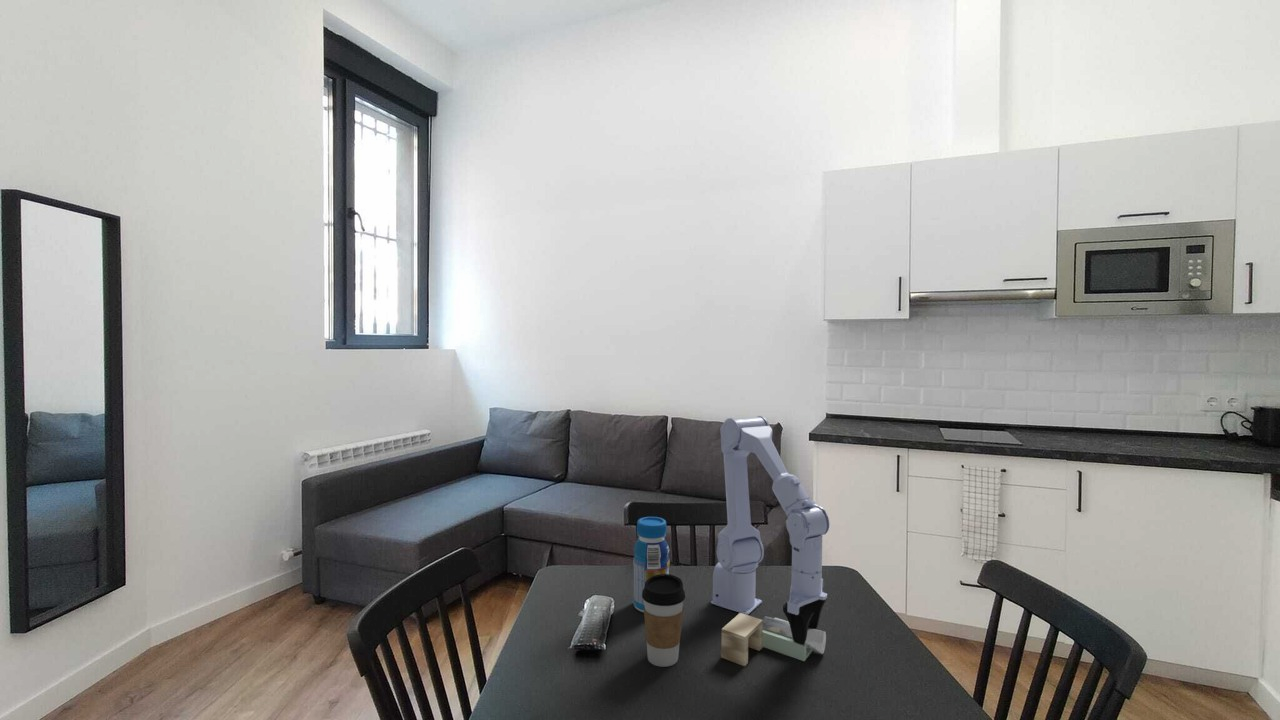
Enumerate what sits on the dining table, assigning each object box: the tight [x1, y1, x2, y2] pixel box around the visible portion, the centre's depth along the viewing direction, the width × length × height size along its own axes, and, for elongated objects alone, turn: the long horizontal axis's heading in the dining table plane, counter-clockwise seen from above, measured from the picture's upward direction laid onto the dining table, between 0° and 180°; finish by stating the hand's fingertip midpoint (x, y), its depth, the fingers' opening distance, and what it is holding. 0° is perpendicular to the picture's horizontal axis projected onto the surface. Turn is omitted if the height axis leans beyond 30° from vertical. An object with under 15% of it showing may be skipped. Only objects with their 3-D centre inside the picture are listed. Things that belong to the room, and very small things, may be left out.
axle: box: [762, 615, 827, 655], centre depth 115 cm, size 12×4×4 cm, turn 60°
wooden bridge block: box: [720, 612, 763, 667], centre depth 113 cm, size 5×8×6 cm, turn 144°
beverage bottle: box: [632, 516, 671, 613], centre depth 132 cm, size 8×8×20 cm
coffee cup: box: [642, 573, 686, 668], centre depth 111 cm, size 8×8×15 cm
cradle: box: [762, 617, 813, 662], centre depth 116 cm, size 9×7×3 cm
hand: (805, 635), depth 114 cm, fingers open, 6 cm apart
